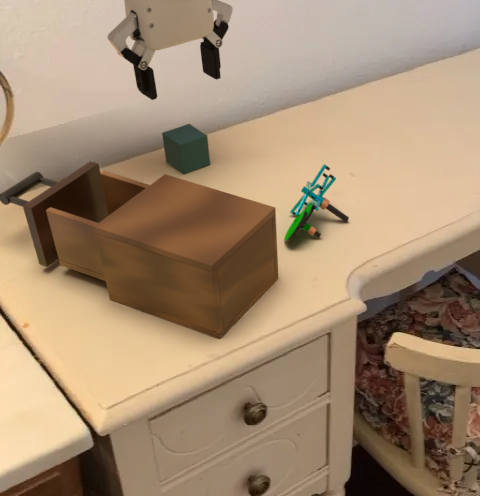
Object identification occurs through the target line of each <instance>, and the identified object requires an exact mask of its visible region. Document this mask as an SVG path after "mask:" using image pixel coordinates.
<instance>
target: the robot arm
mask: <svg viewBox="0 0 480 496" xmlns="http://www.w3.org/2000/svg"><path fill="white" fill-rule="evenodd" d="M124 11H125V12H124V13H125V18H123V19H122V21H120V22H119V23H118V24H117V25H116V26H115V27H114V28H113V29H112V30H111V31H110V32H109V33H108V34H107V40H108V41H109V43H110V44H111V46H112V47H113V48H114V49H115V51H116V52H117V54H118V55H119V56H120V57H122V58H123V59H125V60H126V61H127V62H129V63H130V64H131V65H133V72H134V76H135V83H136V87H137V90H138V91H139V92H140V94H142V95H143V96H144V97H146V98H147V99H150V100H151V101H154V100H157V98H158V92H157V85H156V80H155V79H156V78H155V73H154V69H153V68H152V67H150V66H149V65H150V64H151V61H152V59H153V57H154V55H155V53H156V51H160V50H165V49H168V48H172V47H176V46H179V45H182V44H186V43H190V42H193V41H196V40H200V39H202V41H201V42H200V45H199V49H200V57H201V66H202V72H203V73H204V74H205V75H207V76H208V77H210V78H212V79H214V80H216V81H217V80H219V79H221V67H222V65H221V64H222V63H221V56H220V48H221V47H222V46H223V43H224V42H223V39H224V37H225V36H226V34H227V32H228V30H229V23H230V20H231V17H232V14H233V11H234V8H233V6H232V5H230V4H228V3H226V2H224V1H221V0H124ZM214 12H216V19H215V20H214ZM127 38H130V39H131V40H132V41H134V43H133V45H132V47H131V49H130V47H129V46H128V44H127V42H126V41H127Z"/></svg>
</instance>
